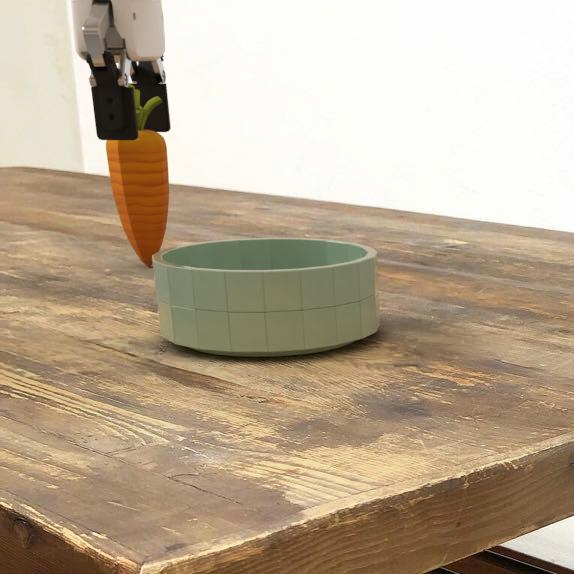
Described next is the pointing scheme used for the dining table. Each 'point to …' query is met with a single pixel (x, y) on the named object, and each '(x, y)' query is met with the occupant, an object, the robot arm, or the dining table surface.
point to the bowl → (267, 295)
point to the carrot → (141, 184)
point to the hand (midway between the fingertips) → (135, 135)
